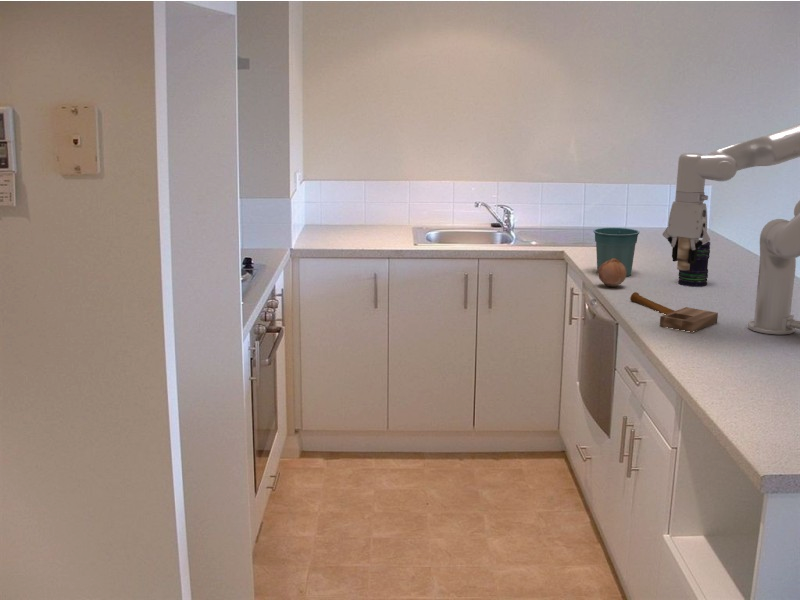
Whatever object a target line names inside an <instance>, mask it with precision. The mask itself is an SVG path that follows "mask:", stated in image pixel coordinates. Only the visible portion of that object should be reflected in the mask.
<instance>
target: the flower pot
mask: <svg viewBox="0 0 800 600" xmlns="http://www.w3.org/2000/svg"><path fill="white" fill-rule="evenodd" d="M593 233H594V242H595V246H596V247H595V248H596V249H595V250H596V268H597V274H598V270H599V267H600V266H601V265H602V264H603V263H604V262H606V261H608V260H610V259H612V258H615V259H617V260H620V262H621V263H622V264H623V265H624V266H625V268H626V277H629V276H631V275H632V270H633V263H634V257H635V252H636V251H635V250H636V244H637V242H638V237H639V236H638V235H640V234H641V233H640V231H639V230H637V229H634V228H627V227H599V228H595V229H593Z"/></svg>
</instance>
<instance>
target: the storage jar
mask: <svg viewBox="0 0 800 600" xmlns="http://www.w3.org/2000/svg"><path fill="white" fill-rule="evenodd" d="M701 240H702V239H699V241H701ZM710 249H711V241H709V242H707V243H705V244H703V245H702V246H701V247H700V248H699V249H698V250H697V260H696V261H695V263H692V264H690V269H689V270H678V274H677V275H678V281H677V282H678V285H681V286H684V287H693V288H701V287H706V286H708V278H709V269H708V266H709V259H710V256H711V255H710V254H711V250H710Z"/></svg>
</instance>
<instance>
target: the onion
mask: <svg viewBox="0 0 800 600" xmlns="http://www.w3.org/2000/svg"><path fill="white" fill-rule="evenodd" d="M597 275H598V279H599V280H600V281H601V283H603V284H604V285H605V286H607V287H609V288H613V287H618V286H619V285H622V283H623V282H624V281H625V280H626V277H627V276H626V268H625V266H624V265H623V264H622V263H621V262H620V260H617V259H615V258H612V259H610V260H608V261H606V262H604V263H603V264H602V265H601V266H600V267H599V270H598V273H597Z"/></svg>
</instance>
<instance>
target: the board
mask: <svg viewBox="0 0 800 600" xmlns="http://www.w3.org/2000/svg"><path fill="white" fill-rule="evenodd" d="M718 316H719V312H716V311H711V310H710V311H709V310H703V309H700V308H694V307H687V306H686V307H683V308H680V309H676V310H674V312H671V313H668V314H666V315H664V314H662V315H661V316H659V317H660V318H659V327H660V326H661V328H665V327H668V328H667V329H670V328H673V329H672V330H675V329H679V330H678V331H681V330H685V331H684V332H686V331H690V332H689V333H691V332H693V331H695V332H697V331H696V330H698V331H700V330H702V329H701V328H703V329H705V328H707V327H706V326H708V327H710V326H712V324H713V325H714V323H715V324H717V323H718ZM709 325H710V326H709ZM704 327H705V328H704ZM699 329H700V330H699ZM693 333H694V332H693Z"/></svg>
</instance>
